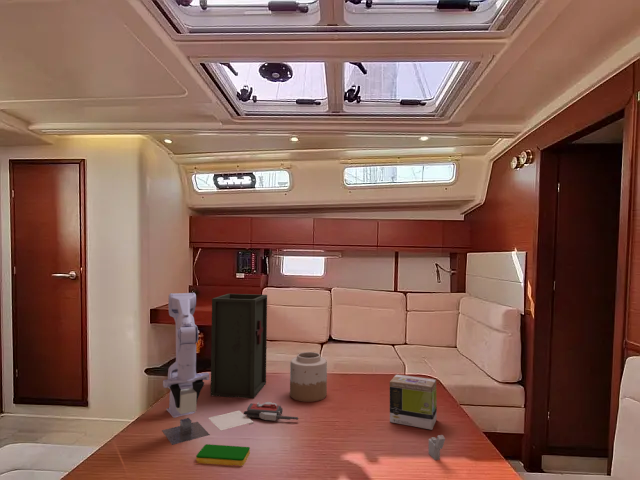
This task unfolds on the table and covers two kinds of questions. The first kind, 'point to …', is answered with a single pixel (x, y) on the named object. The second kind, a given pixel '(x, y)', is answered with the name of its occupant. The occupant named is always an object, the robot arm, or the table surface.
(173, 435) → the post base
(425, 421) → the tea box
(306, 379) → the vase
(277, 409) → the chainsaw
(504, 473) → the table surface
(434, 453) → the lighter
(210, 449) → the dish sponge
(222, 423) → the mat
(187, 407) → the pale grey cube box
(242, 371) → the dark green tall box
